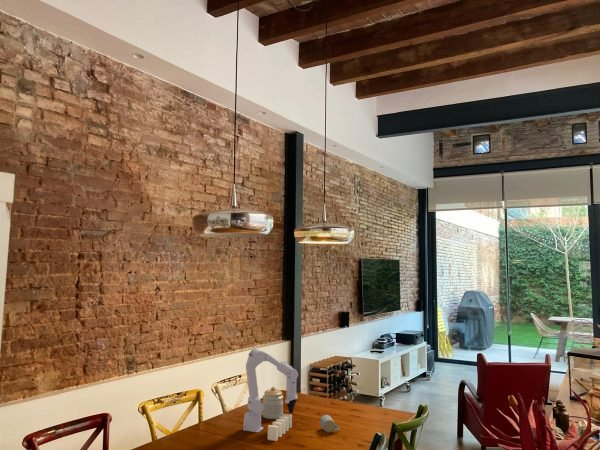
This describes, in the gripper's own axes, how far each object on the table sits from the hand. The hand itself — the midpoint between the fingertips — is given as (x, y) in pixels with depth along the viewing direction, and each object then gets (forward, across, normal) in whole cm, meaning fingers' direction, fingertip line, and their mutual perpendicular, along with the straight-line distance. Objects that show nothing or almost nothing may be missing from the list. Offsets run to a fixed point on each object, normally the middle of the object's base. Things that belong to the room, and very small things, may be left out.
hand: (291, 412), depth 271 cm
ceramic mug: (+7, -2, -24) cm, 25 cm away
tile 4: (+6, -21, 0) cm, 22 cm away
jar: (+7, +9, +16) cm, 19 cm away
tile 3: (+6, -16, 0) cm, 17 cm away
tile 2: (+6, -11, 0) cm, 13 cm away
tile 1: (+6, -6, 0) cm, 9 cm away
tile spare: (+6, -27, 0) cm, 28 cm away
